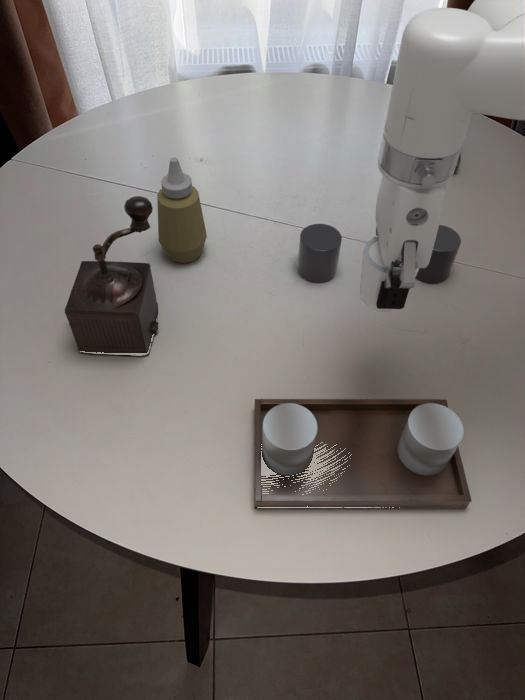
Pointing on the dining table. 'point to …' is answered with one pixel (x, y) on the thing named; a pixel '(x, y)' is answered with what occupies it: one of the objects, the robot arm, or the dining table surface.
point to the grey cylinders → (324, 249)
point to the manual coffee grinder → (115, 296)
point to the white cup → (375, 274)
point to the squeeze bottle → (180, 216)
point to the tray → (361, 453)
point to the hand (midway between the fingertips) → (385, 283)
